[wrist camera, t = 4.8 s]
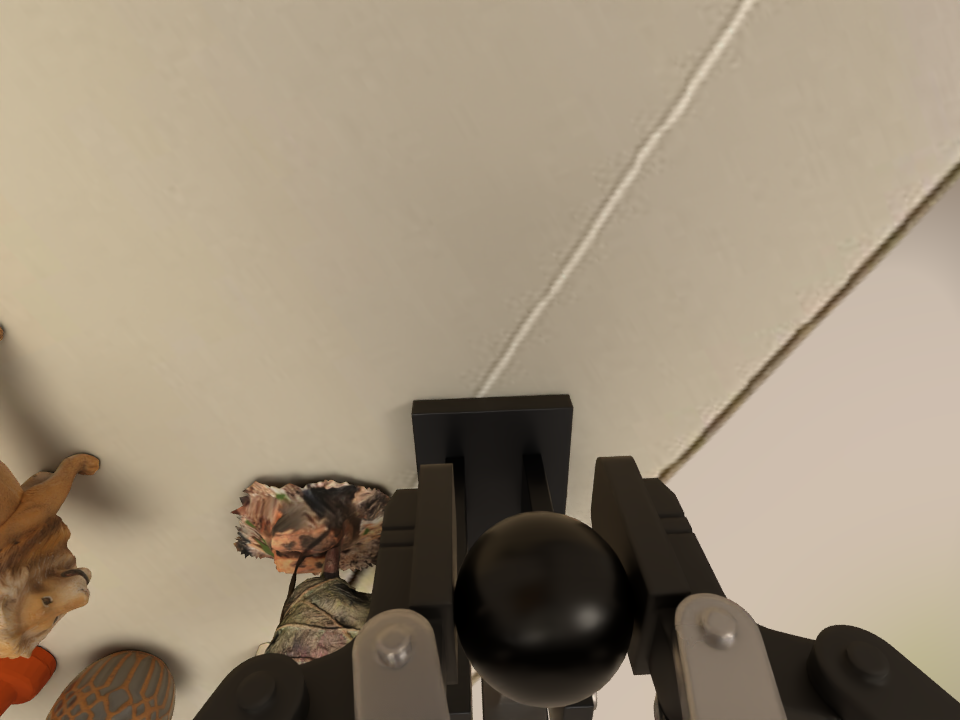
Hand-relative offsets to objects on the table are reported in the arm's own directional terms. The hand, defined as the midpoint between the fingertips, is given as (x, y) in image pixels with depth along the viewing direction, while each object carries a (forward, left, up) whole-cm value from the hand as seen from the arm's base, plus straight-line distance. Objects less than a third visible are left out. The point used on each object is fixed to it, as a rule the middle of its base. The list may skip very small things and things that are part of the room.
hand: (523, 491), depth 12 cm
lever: (+4, +4, -1) cm, 5 cm away
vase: (+37, +2, -14) cm, 40 cm away
